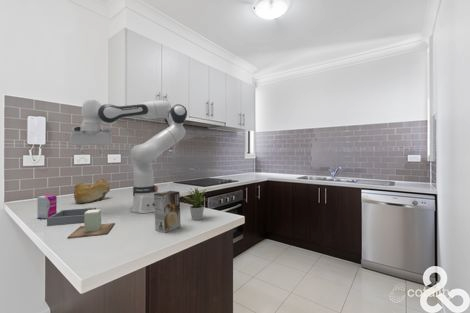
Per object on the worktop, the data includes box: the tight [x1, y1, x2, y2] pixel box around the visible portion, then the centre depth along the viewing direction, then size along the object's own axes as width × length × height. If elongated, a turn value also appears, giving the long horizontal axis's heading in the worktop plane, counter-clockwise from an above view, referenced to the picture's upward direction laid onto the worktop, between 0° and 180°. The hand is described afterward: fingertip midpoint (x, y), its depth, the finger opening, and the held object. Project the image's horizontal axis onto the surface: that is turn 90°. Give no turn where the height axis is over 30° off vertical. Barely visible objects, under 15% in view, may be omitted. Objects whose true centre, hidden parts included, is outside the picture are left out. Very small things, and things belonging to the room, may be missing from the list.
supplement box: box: [36, 194, 58, 220], centre depth 118 cm, size 6×6×12 cm
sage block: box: [83, 208, 102, 232], centre depth 97 cm, size 5×5×8 cm
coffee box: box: [154, 190, 181, 234], centre depth 98 cm, size 9×6×16 cm
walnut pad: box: [67, 222, 116, 239], centre depth 97 cm, size 14×14×1 cm
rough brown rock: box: [73, 178, 111, 204], centre depth 161 cm, size 23×17×15 cm
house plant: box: [181, 187, 210, 221], centre depth 114 cm, size 14×14×16 cm
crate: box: [46, 207, 97, 227], centre depth 114 cm, size 16×16×4 cm
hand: (91, 153), depth 127 cm, fingers open, 8 cm apart
